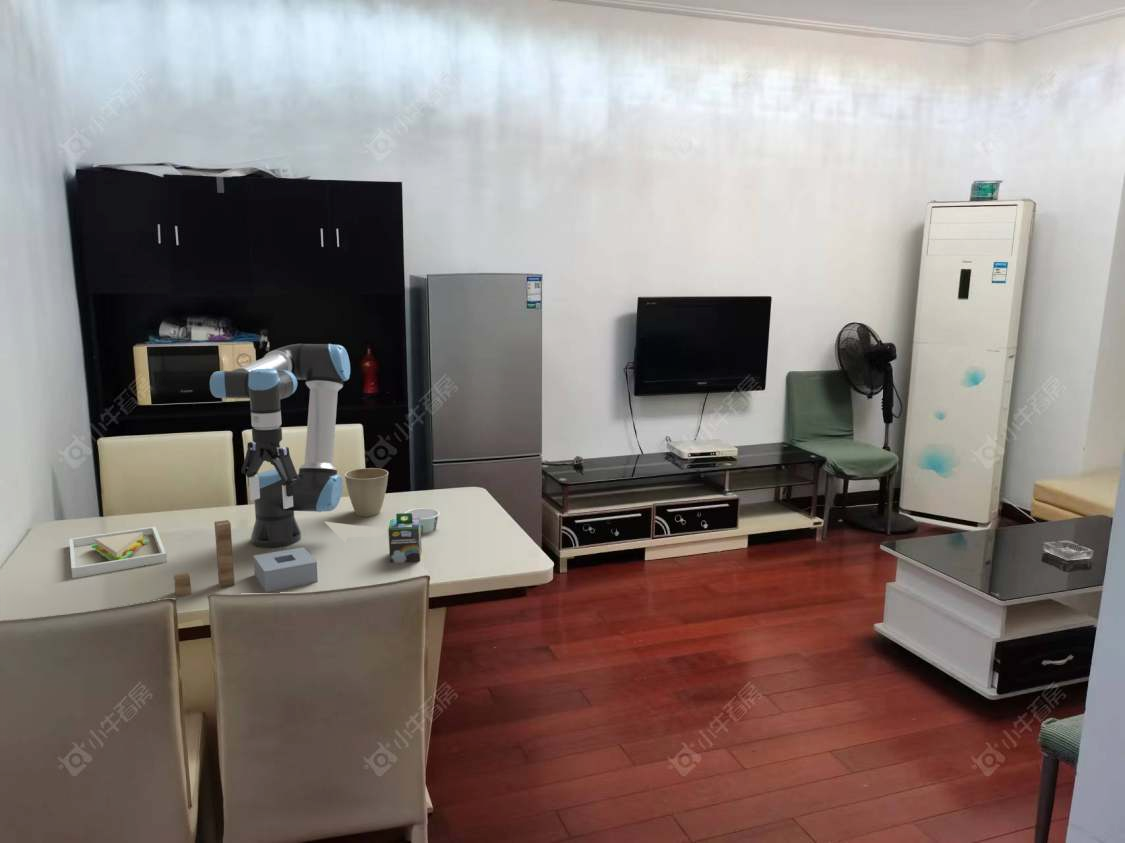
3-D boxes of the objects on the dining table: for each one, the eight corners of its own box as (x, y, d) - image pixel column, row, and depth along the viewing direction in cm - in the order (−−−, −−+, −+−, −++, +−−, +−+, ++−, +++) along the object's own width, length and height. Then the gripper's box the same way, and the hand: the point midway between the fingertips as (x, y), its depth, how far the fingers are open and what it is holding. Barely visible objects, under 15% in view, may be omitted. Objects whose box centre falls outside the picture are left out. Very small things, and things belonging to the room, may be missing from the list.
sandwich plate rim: (70, 548, 247) (69, 538, 246) (156, 535, 259) (155, 526, 259) (72, 578, 223) (71, 568, 222) (167, 562, 235) (166, 553, 235)
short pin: (175, 592, 214) (173, 574, 214) (189, 589, 216) (188, 572, 215) (177, 596, 212) (175, 579, 211) (191, 593, 213) (189, 576, 212)
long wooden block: (218, 583, 220) (214, 521, 217) (232, 581, 222) (228, 519, 219) (221, 588, 217) (216, 525, 214) (234, 585, 219) (230, 523, 216)
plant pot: (338, 520, 277) (336, 476, 274) (360, 508, 291) (359, 466, 288) (376, 525, 272) (374, 480, 269) (397, 512, 286) (396, 470, 283)
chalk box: (421, 553, 246) (420, 507, 244) (420, 563, 237) (419, 516, 235) (391, 554, 245) (390, 508, 242) (389, 564, 236) (387, 517, 233)
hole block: (254, 575, 226) (253, 555, 225) (304, 566, 234) (303, 547, 233) (265, 592, 215) (264, 571, 214) (317, 582, 222) (316, 561, 221)
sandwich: (76, 572, 229) (74, 555, 228) (96, 549, 247) (95, 534, 246) (135, 567, 233) (133, 551, 232) (150, 545, 251) (149, 530, 250)
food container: (443, 527, 271) (443, 508, 270) (434, 538, 260) (434, 519, 258) (409, 525, 273) (409, 507, 271) (399, 537, 261) (398, 518, 260)
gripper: (224, 424, 215) (230, 499, 219) (286, 435, 202) (291, 514, 206) (248, 419, 221) (253, 492, 225) (310, 430, 209) (314, 507, 213)
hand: (271, 503), depth 216 cm, fingers open, 13 cm apart
